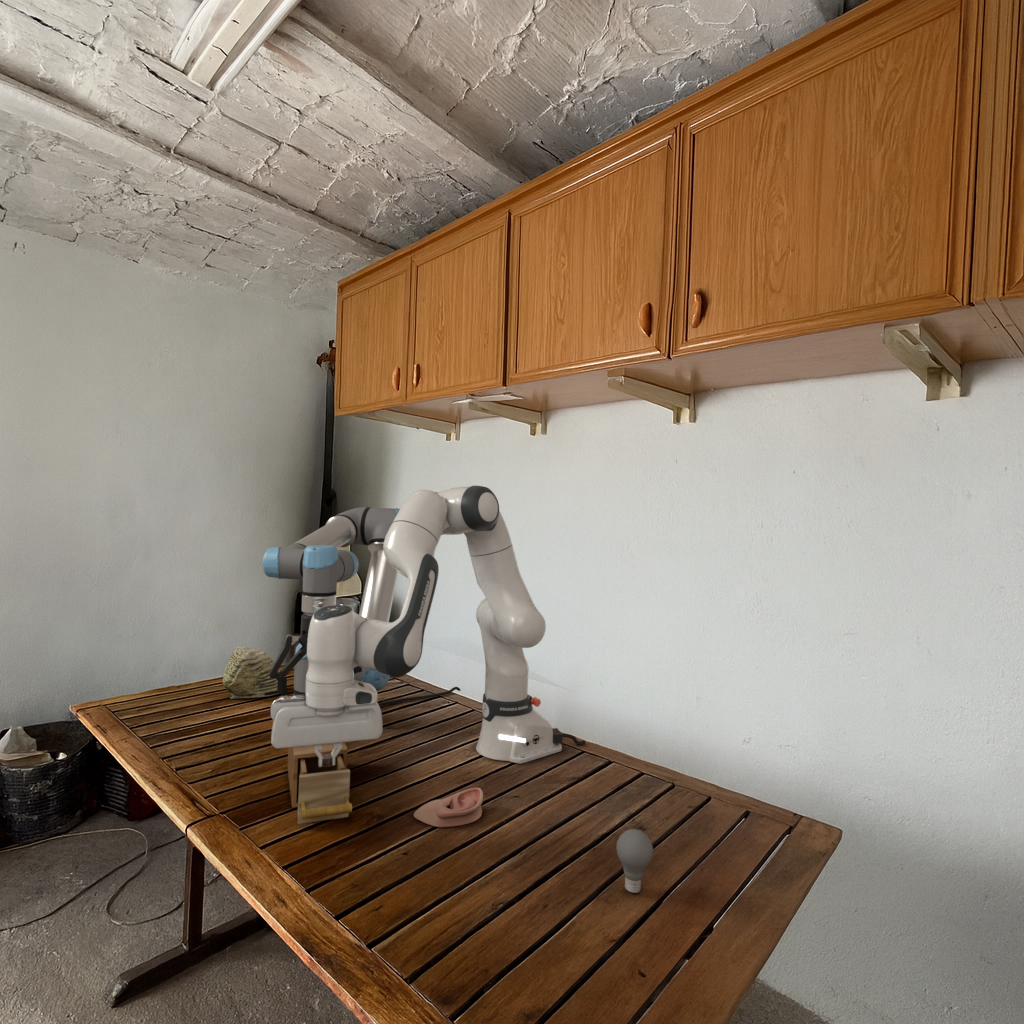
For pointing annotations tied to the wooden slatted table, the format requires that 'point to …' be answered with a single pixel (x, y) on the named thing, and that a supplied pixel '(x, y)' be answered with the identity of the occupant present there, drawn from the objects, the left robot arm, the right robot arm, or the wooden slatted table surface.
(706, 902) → the wooden slatted table surface
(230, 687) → the fossil
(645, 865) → the light bulb
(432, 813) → the anatomical model
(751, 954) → the wooden slatted table surface
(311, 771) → the drawer
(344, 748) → the cabinet
